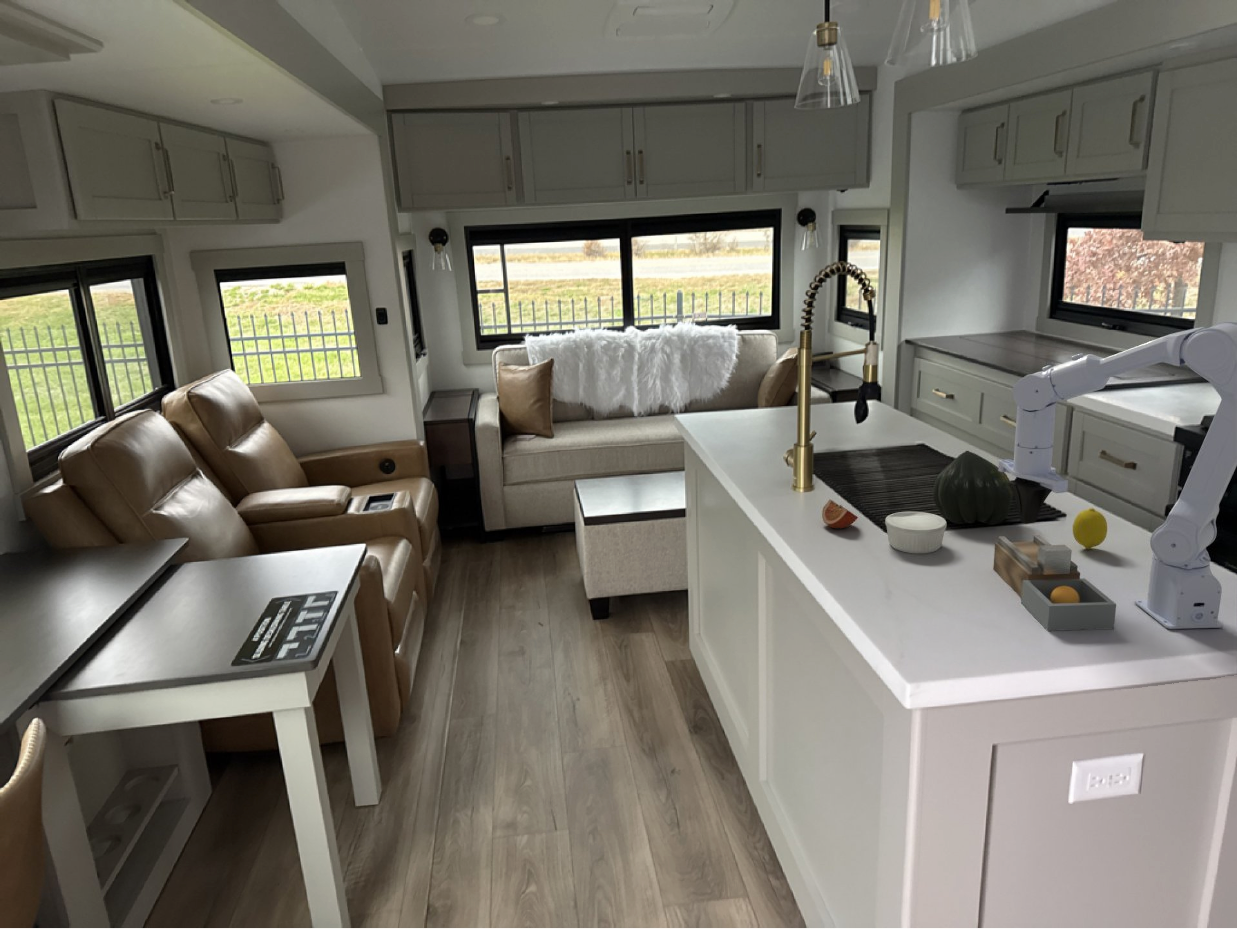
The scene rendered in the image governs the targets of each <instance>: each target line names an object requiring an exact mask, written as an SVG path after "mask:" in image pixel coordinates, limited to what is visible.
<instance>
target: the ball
mask: <svg viewBox="0 0 1237 929" xmlns="http://www.w3.org/2000/svg"><path fill="white" fill-rule="evenodd" d="M1050 599H1051V603H1052V604H1059V603H1079V601H1080V598H1079V595H1078V593H1077V592H1076V591H1075V590H1074V589H1073V588H1071V587H1068V586H1059V587H1057V588H1055V589H1054V590H1053V591H1052V593H1051V596H1050Z"/></svg>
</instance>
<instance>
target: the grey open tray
mask: <svg viewBox="0 0 1237 929" xmlns="http://www.w3.org/2000/svg"><path fill="white" fill-rule="evenodd" d="M1059 586H1068V587H1071V588H1073V589H1074V590H1075V591H1076V592H1077V593H1078V595H1079V598H1080V601H1079V603H1059V604H1052V603H1051V599H1050V596H1051V593H1052V591H1053V590H1054V589H1055V588H1057V587H1059ZM1020 598H1021V597H1020ZM1020 601H1021V602H1020V605H1022V606H1023V607H1024V608H1025V609H1026V610H1027V611H1028V612H1029V613H1030V614H1031V615H1032V617H1033V618H1034V619H1036V620H1037V621H1038V622H1039V623H1040V624H1041V625H1042V626H1043V628H1044V629H1046V630H1047V631H1077V629H1079V630H1078V631H1082V630H1081V629H1087V630H1114V629H1115V619H1116V612H1117V603H1116V602H1115V601H1113V600H1112V599H1111V598H1109V597H1108V596H1107V595H1106V594H1104V592H1102V591H1101V590H1100V589H1098V588H1097V587H1096V586H1095V585H1094V584H1092V583H1091V582H1090V581H1089V580H1088V579H1086V577H1085V578H1084V577H1083V578H1082V577H1080V579H1049V580H1023V585H1022V598H1021V600H1020Z"/></svg>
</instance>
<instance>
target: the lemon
mask: <svg viewBox="0 0 1237 929" xmlns="http://www.w3.org/2000/svg"><path fill="white" fill-rule="evenodd" d="M1107 534H1108V524H1107V519H1106V518H1105V516H1104V515H1103V513H1101V512H1100V511H1098V510H1096V509H1095V508H1093V507H1090V508H1088V509H1084V510H1082V511H1080V512H1078V514H1077V515H1076V516H1075V519H1074V520H1073V524H1072V535H1073V537H1074V539H1075V541H1076V543H1078V544H1079V545H1080V546H1083V547H1084V549H1086V550H1091V549H1092V548H1095V547H1098V546H1100V545H1101V544H1102V543H1103V542H1105V540H1106V538H1107Z"/></svg>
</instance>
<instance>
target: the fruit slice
mask: <svg viewBox="0 0 1237 929" xmlns="http://www.w3.org/2000/svg"><path fill="white" fill-rule="evenodd" d="M821 512H822V513H821V517H822V521H823V523H824V524H825V525H827V526H828V527H830V528H833V529H836V528H840V529H845V528H847V527H849V526H851V525H852V524H854V523H855V522H856V521H857V520H858V518H859V517H858V515H855V514H854V513H853V512H851V511H850V510H848V509H847V508H846V507H843V505H842V504H839V503H836V502H835V501H834V500H833V499H828V501H827V502H826V503H825V505H824V506H823V508H822V511H821Z"/></svg>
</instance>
